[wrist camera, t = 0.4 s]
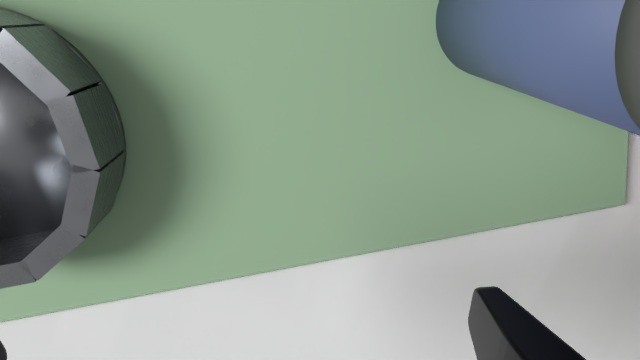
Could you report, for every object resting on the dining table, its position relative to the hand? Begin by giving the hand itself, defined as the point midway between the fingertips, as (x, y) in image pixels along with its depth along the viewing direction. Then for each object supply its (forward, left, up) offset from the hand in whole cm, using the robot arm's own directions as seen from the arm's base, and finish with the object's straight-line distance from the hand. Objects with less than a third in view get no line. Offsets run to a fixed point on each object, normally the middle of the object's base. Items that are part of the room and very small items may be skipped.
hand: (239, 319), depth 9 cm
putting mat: (+1, +1, -14) cm, 14 cm away
